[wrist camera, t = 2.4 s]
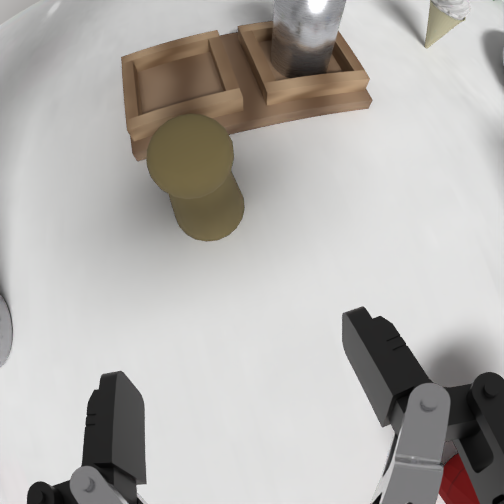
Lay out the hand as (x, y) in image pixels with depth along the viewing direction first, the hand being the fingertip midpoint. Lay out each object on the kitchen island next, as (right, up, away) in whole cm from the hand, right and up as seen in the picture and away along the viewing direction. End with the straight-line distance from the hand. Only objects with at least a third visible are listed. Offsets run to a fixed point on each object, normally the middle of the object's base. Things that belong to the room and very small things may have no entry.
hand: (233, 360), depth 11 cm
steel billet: (+6, +24, +18) cm, 30 cm away
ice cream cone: (+24, +31, +22) cm, 45 cm away
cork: (-3, +8, +17) cm, 19 cm away
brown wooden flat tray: (-1, +22, +20) cm, 29 cm away
